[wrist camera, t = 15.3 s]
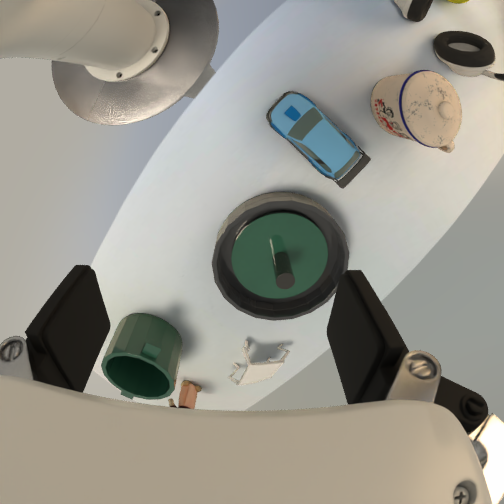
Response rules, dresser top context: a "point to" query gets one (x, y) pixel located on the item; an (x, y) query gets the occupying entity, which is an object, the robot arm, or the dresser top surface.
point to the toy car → (316, 137)
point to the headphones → (455, 44)
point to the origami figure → (257, 368)
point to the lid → (279, 255)
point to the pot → (143, 357)
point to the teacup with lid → (418, 108)
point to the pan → (282, 306)
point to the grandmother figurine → (187, 396)
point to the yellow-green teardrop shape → (458, 1)
